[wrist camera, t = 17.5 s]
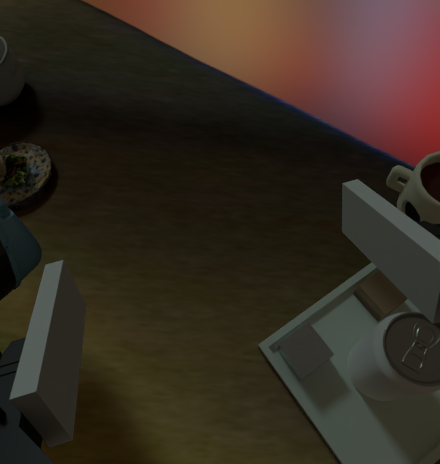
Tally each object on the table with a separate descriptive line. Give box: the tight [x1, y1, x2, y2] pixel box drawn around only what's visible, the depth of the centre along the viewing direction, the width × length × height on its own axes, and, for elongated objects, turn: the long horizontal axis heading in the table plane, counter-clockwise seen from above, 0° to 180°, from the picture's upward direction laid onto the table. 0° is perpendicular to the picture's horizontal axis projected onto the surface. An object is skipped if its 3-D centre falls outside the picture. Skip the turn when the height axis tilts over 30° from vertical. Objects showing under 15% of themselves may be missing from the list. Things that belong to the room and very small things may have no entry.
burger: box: [0, 142, 52, 211], centre depth 54 cm, size 12×12×8 cm
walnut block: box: [353, 270, 408, 322], centre depth 42 cm, size 4×4×3 cm
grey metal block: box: [277, 322, 335, 381], centre depth 40 cm, size 4×4×3 cm
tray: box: [258, 263, 440, 464], centre depth 40 cm, size 18×18×2 cm
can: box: [347, 312, 440, 401], centre depth 34 cm, size 6×6×12 cm
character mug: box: [386, 151, 440, 227], centre depth 41 cm, size 11×7×13 cm, turn 52°
